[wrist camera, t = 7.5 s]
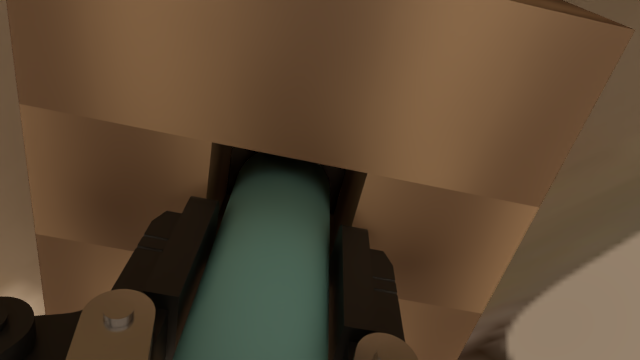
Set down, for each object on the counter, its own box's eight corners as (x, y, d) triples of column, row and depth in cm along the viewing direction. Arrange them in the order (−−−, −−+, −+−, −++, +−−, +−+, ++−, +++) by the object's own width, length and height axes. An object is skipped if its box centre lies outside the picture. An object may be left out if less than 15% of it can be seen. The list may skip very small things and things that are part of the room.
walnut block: (99, 267, 20) (49, 343, 16) (83, -114, 13) (-10, -122, 9) (416, 323, 21) (432, 405, 17) (560, -1, 14) (634, 29, 10)
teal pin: (231, 219, 16) (149, 470, 9) (242, 139, 14) (153, 365, 7) (319, 235, 16) (308, 492, 9) (339, 158, 14) (345, 394, 7)
